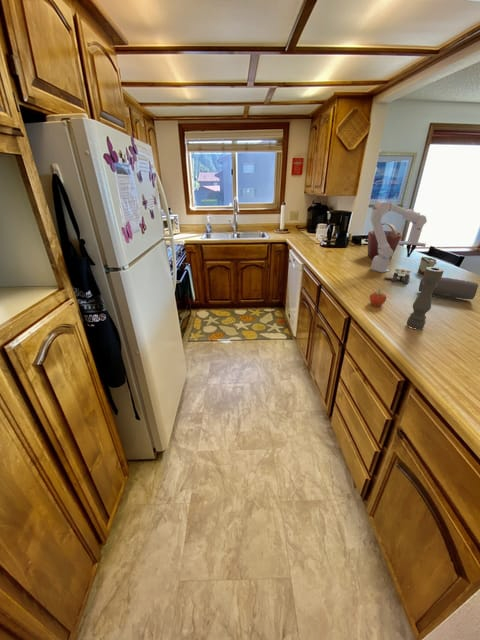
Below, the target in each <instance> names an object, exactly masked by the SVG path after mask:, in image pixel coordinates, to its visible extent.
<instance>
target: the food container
mask: <svg viewBox="0 0 480 640" xmlns="http://www.w3.org/2000/svg"><path fill="white" fill-rule="evenodd" d="M436 265H437V260H436V259H435V258H432V257H428V256H427V257H426V256H421V259H420V263H419V266H418V271H417V273H418V274H419V275H420V274H421V275H420V276H421V277H423V275H424V272H425V270H426V268H427V267H435V266H436Z"/></svg>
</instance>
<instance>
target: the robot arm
mask: <svg viewBox="0 0 480 640" xmlns="http://www.w3.org/2000/svg"><path fill="white" fill-rule="evenodd" d="M371 209H372V211H371V215H370V222H371V225H372V228H373V229H374V230H373V231H374V232H375V235H376V239H377V242H378V254H379V255H378V256H375V257H374V258H373V259H372V261H371V266H370V267H369V269H370V270H373V271H376V272H379V273H385V272H391V271H390V269H388V267H389V264H390V261H391V259H390V257H391V256H392V257H393V255H394V253H393V250H392V249H391V248H390V246H389V244H388V243H387V239H386V236H385V233H384V231H385V230H384V227H383V225H382V224H383V222H382V221H381V220H382V218H383V217H384V215H386V214H387V213H388V212H394V213H397V214H399V215H401V217H402V219H404V220H406V221H408V222H410V223H412V224H411V228H410V232H409V235H408V239H407V240H400V241H399V243H398V245H405V247H406V252H407V253H406V258H410V256H411V254H412V253H413V252H414V250H416V248H417V247H422V248H425V247H426V245H427V243H425V242H419V240H420V237H421V233H422V230H423V227H424V226H425V225H426V223H427V221H428V220H427V217H426V216H425V215H423V214H421V213H420V212H417V211H415V209H413V208H408V209H405V208H402V207H401V206H399V205H397V204H396V203H392V202H389V201H383V200H377V201H375V203H374V204H373V205H372V208H371Z"/></svg>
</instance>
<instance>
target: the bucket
mask: <svg viewBox="0 0 480 640" xmlns="http://www.w3.org/2000/svg"><path fill="white" fill-rule="evenodd" d="M383 225H387V226H388V227H390V229H391V230H384V233H385V236H386V239H387V243H388V244H389V246H390V248H391V249H392V250H393V254H394V253H395V251H396V249H397V248H398V247H397V246H398V245H399V241H401V239H402V236H403V232H398V230H397V228H396V227H395V226H394V224H392V223H388V222H387V223H385V222H382V226H383ZM378 255H379V254H378V242H377V239H376V235H375V232H374V229H373V230H372V231H371V230H370V231H368V234H367V257H368V258H369V259H370V260H373V258H374V257H375V256H378ZM392 257H393V255H392V256H391V257H390V260H392Z"/></svg>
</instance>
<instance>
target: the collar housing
mask: <svg viewBox="0 0 480 640" xmlns="http://www.w3.org/2000/svg"><path fill="white" fill-rule="evenodd" d="M411 271H412V270H407V269H399V268H398V269H397V268H395V271H393V274H392V275H393V279H391V283H396V282H397V280H396V279H397V276H398V275H399V274H401V275H404V276H405V279H404V281H402V284H403V285H408V283H409V282H408V279H409V277H410V276H411V273H412V272H411Z"/></svg>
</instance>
